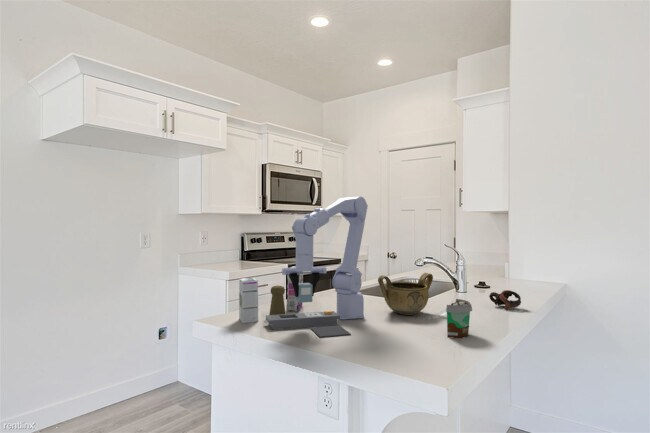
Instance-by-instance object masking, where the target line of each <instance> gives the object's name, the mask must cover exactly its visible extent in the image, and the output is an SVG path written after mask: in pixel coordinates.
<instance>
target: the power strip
mask: <svg viewBox="0 0 650 433" xmlns="http://www.w3.org/2000/svg"><path fill="white" fill-rule="evenodd" d="M265 320H266V322H267V323H268V325H269V327H270V329H271V330H287V329H300V328H313V327H326V326H338V320H341V319H340V315H338V314H337V312H335V311H333V310H323V311H316V312H301V313H300V312H299V313H298V312H295V313H285V314H280V315H269V314H268V315H267V314H266V315H265Z"/></svg>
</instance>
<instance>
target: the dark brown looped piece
mask: <svg viewBox="0 0 650 433" xmlns="http://www.w3.org/2000/svg"><path fill="white" fill-rule="evenodd" d="M512 296H514V297H515V299H517V300H512V299H509V297H512ZM488 297H489V299H490V301H491V302H493V304H494V305H495V306H497V305H499V306H503V305H504V306H503V309H504V310H505V311H509V310H510V309H514V308H518V307H520V306H521V303H522V301H521V299H522V298H521V295H520V294H519V293H517V292H516V291H513V290H509V289H507V290H506V289H505V290H503V291H501V293H498V292H494V291H493V292H491V293H489V295H488Z"/></svg>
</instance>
